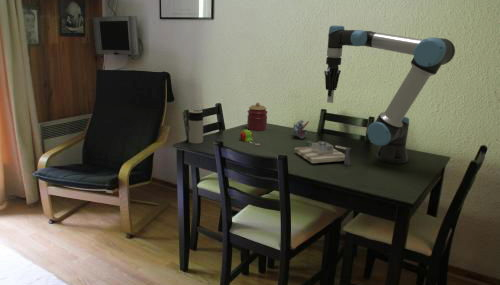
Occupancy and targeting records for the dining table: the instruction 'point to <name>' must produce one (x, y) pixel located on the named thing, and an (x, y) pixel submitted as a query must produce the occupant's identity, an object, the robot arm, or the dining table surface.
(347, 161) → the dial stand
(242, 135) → the toy measuring tape
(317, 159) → the patterned tray
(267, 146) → the dining table surface
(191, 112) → the travel mug
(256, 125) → the canister
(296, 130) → the toy figurine
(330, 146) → the cover
